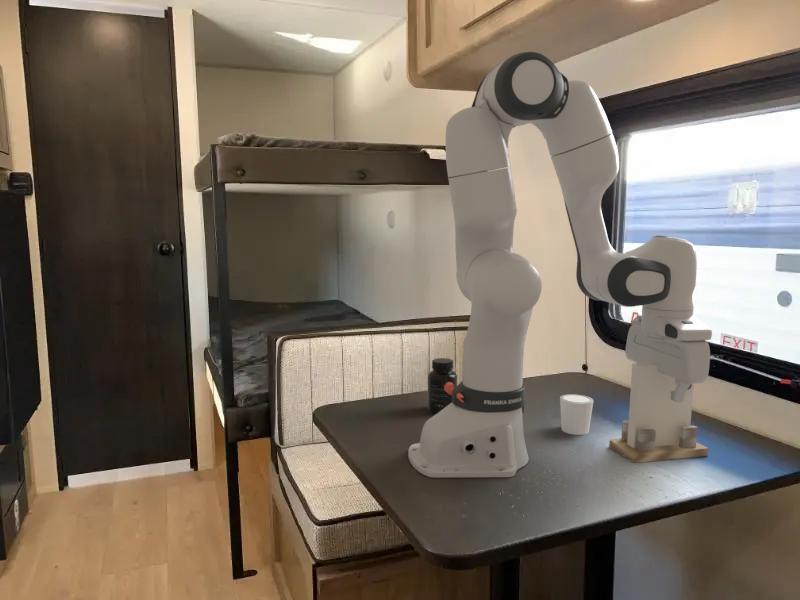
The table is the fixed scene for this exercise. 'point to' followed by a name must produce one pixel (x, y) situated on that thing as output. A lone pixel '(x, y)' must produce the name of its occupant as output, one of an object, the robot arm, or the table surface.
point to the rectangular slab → (656, 406)
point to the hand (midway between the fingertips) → (660, 393)
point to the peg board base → (654, 453)
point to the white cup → (575, 413)
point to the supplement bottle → (440, 384)
